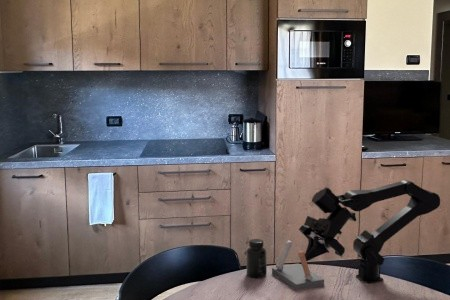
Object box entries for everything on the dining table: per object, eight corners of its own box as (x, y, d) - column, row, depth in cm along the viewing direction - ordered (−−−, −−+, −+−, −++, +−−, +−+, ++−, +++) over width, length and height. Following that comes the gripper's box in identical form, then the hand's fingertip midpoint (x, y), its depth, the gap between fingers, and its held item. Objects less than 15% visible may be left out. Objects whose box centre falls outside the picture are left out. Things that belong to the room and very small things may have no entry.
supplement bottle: (265, 271, 160) (265, 237, 159) (267, 278, 154) (268, 243, 152) (245, 271, 160) (245, 237, 159) (247, 278, 153) (247, 244, 152)
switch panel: (298, 268, 162) (298, 263, 162) (324, 285, 148) (324, 279, 148) (272, 273, 158) (272, 267, 158) (296, 290, 144) (296, 284, 144)
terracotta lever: (309, 276, 149) (301, 248, 146) (314, 278, 147) (305, 251, 144) (304, 279, 148) (295, 251, 146) (308, 282, 146) (299, 254, 144)
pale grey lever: (279, 268, 158) (290, 240, 158) (283, 271, 155) (294, 242, 156) (274, 266, 157) (285, 239, 157) (277, 269, 155) (289, 240, 155)
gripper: (304, 201, 155) (274, 236, 152) (337, 214, 138) (305, 254, 135) (323, 221, 159) (295, 256, 156) (358, 236, 142) (327, 276, 139)
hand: (304, 260), depth 146 cm, fingers closed, pressing on terracotta lever
